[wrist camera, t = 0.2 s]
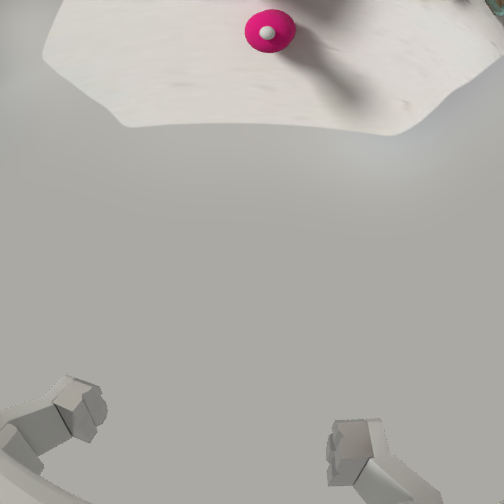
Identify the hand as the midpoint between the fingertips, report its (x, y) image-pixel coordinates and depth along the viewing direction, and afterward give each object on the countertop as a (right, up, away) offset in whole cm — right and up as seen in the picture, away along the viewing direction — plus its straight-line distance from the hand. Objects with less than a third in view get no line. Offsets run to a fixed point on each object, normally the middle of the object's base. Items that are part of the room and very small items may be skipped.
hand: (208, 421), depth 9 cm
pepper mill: (+5, +44, +32) cm, 55 cm away
